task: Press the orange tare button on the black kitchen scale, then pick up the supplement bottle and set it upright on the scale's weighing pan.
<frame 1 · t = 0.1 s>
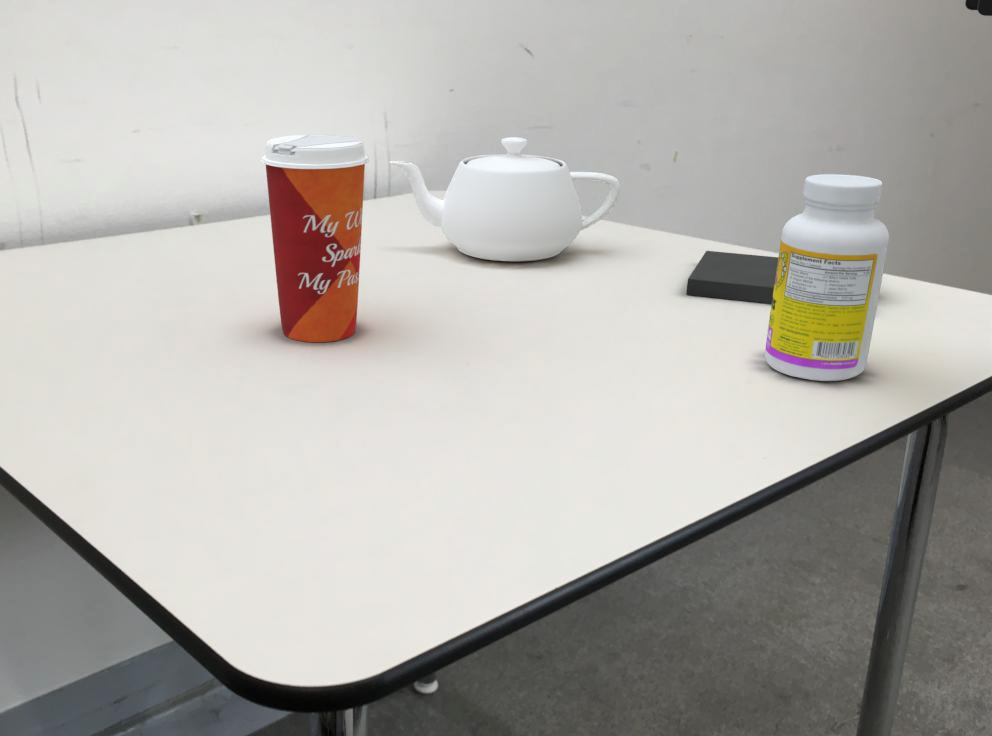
tare button: (846, 254, 92), point 3 cm above the table, slide at 0.1 cm
teapot: (501, 253, 106), on the table
scale: (777, 287, 95), on the table
supplement bottle: (812, 370, 76), on the table
paper cup: (319, 333, 83), on the table
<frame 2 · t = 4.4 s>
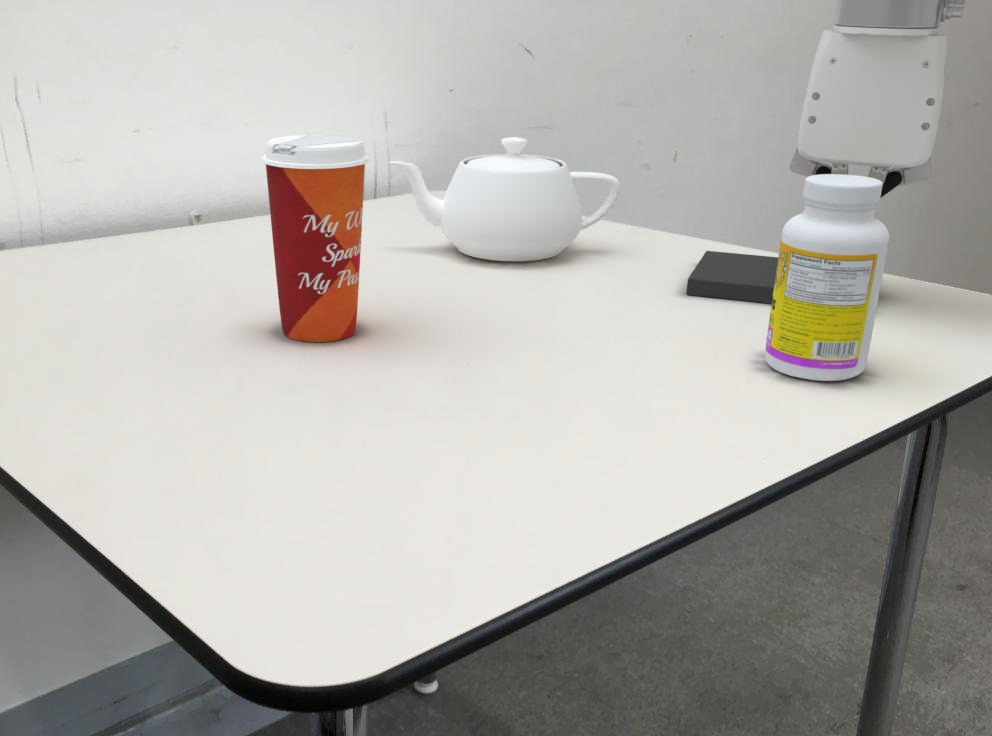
hand: (845, 248, 92), 4 cm above the table, tool pointing down, fingers closed
tare button: (845, 258, 92), point 3 cm above the table, slide at -0.2 cm, touching gripper
everything else where it was.
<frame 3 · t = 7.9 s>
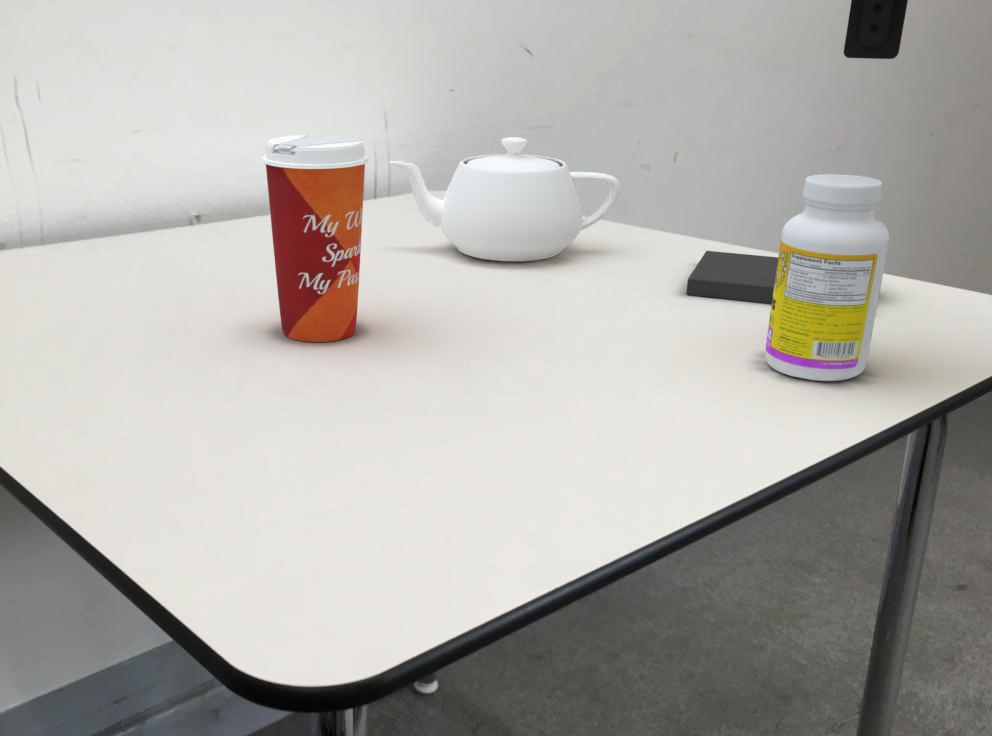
hand: (870, 56, 69), 20 cm above the table, tool pointing down, fingers closed
tare button: (846, 254, 92), point 3 cm above the table, slide at 0.1 cm
everything else where it was.
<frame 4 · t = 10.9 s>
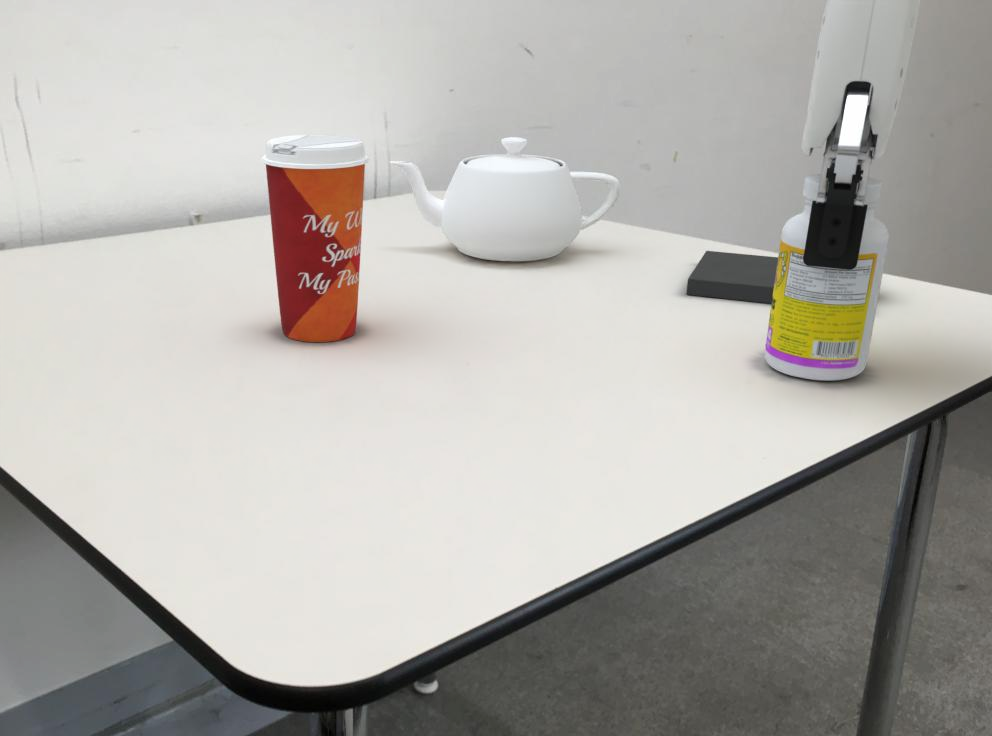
hand: (831, 251, 72), 8 cm above the table, tool pointing down, fingers closed on supplement bottle, 6 cm apart
supplement bottle: (812, 370, 76), on the table, touching gripper
everything else where it was.
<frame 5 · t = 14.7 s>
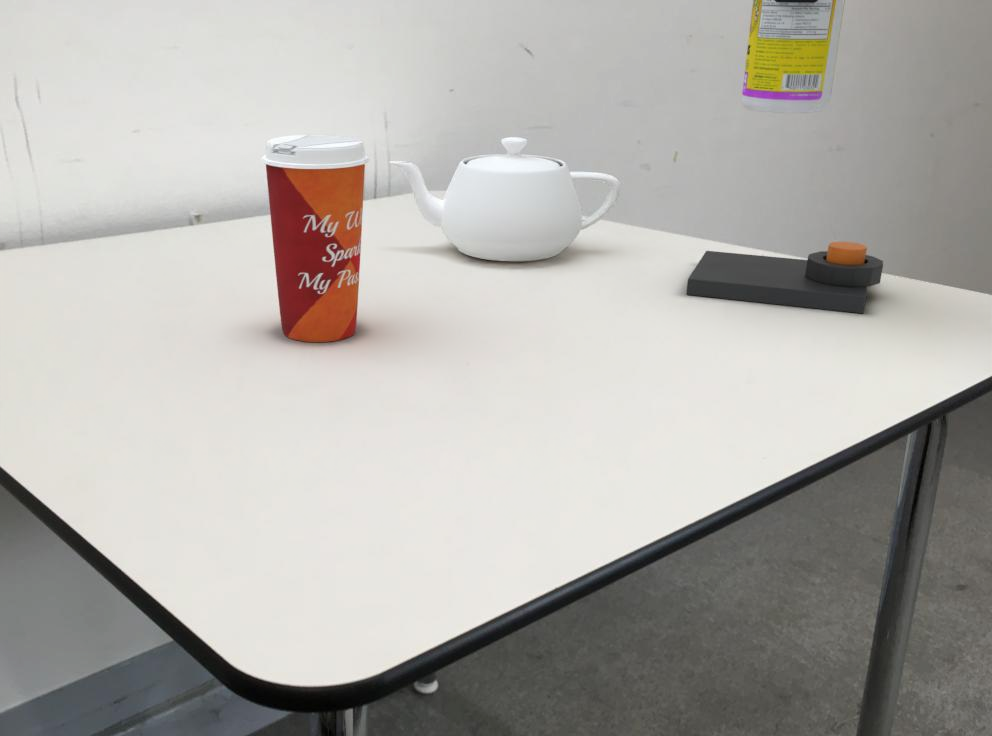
supplement bottle: (783, 112, 87), point 15 cm above the table, touching gripper
everything else where it was.
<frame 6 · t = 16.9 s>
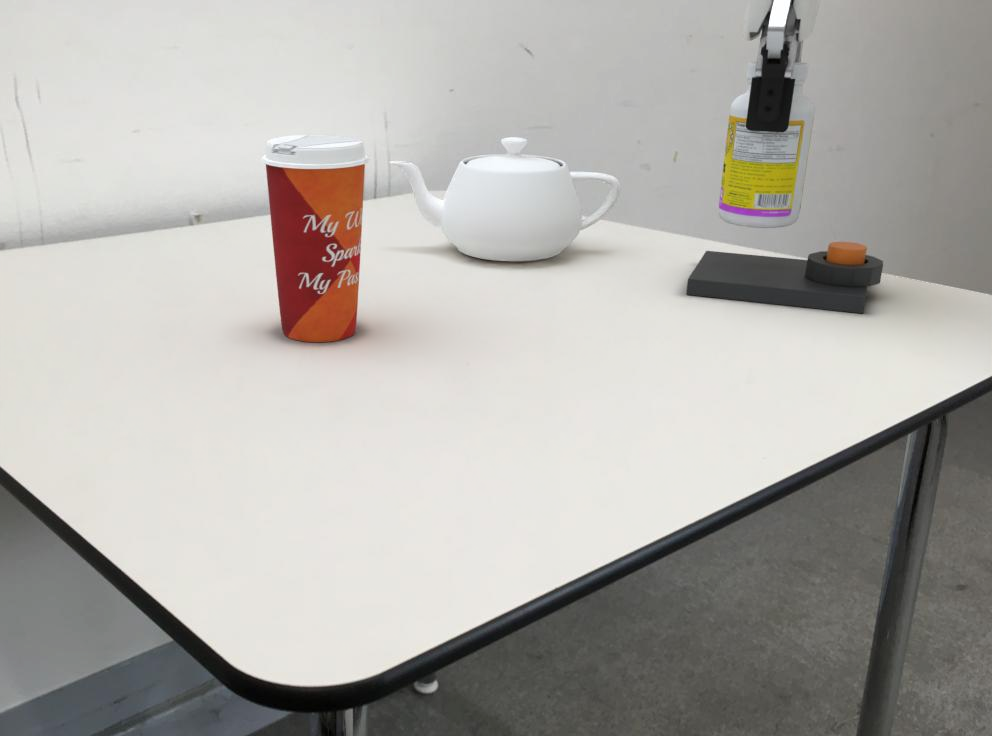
hand: (770, 123, 90), 14 cm above the table, tool pointing down, fingers closed on supplement bottle, 6 cm apart
supplement bottle: (756, 224, 93), point 5 cm above the table, touching gripper
everything else where it was.
when the fingers open (10 cm above the table, at t = 18.4 s): supplement bottle stays where it is, resting on scale.
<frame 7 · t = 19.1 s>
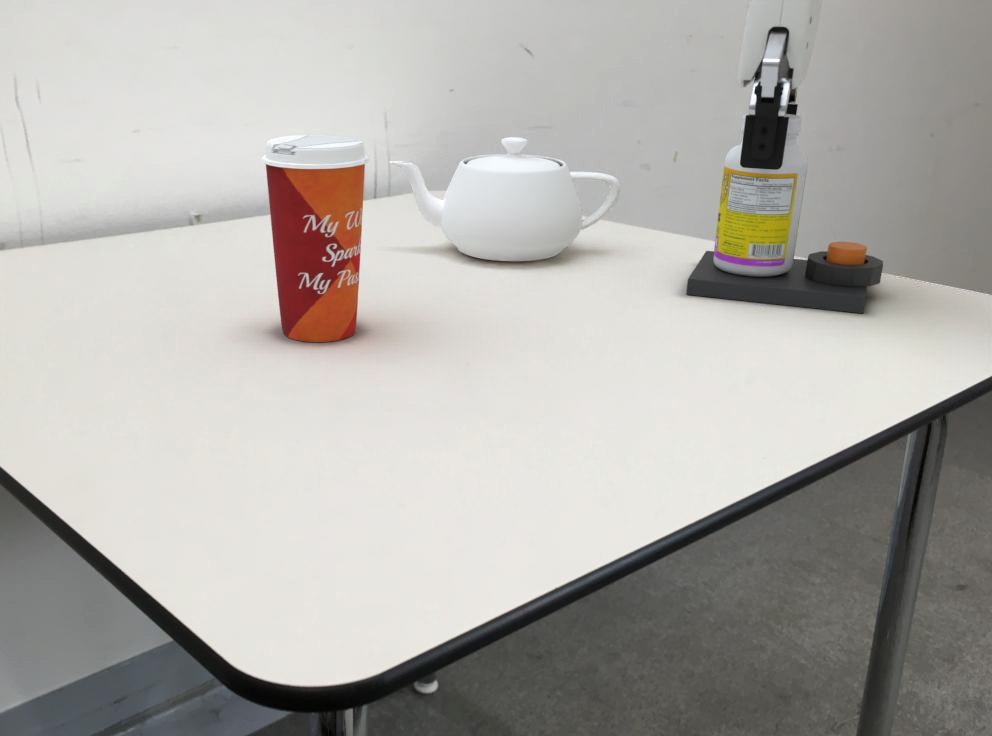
hand: (766, 159, 91), 11 cm above the table, tool pointing down, fingers open, 9 cm apart
supplement bottle: (750, 271, 95), point 1 cm above the table, touching scale
everything else where it was.
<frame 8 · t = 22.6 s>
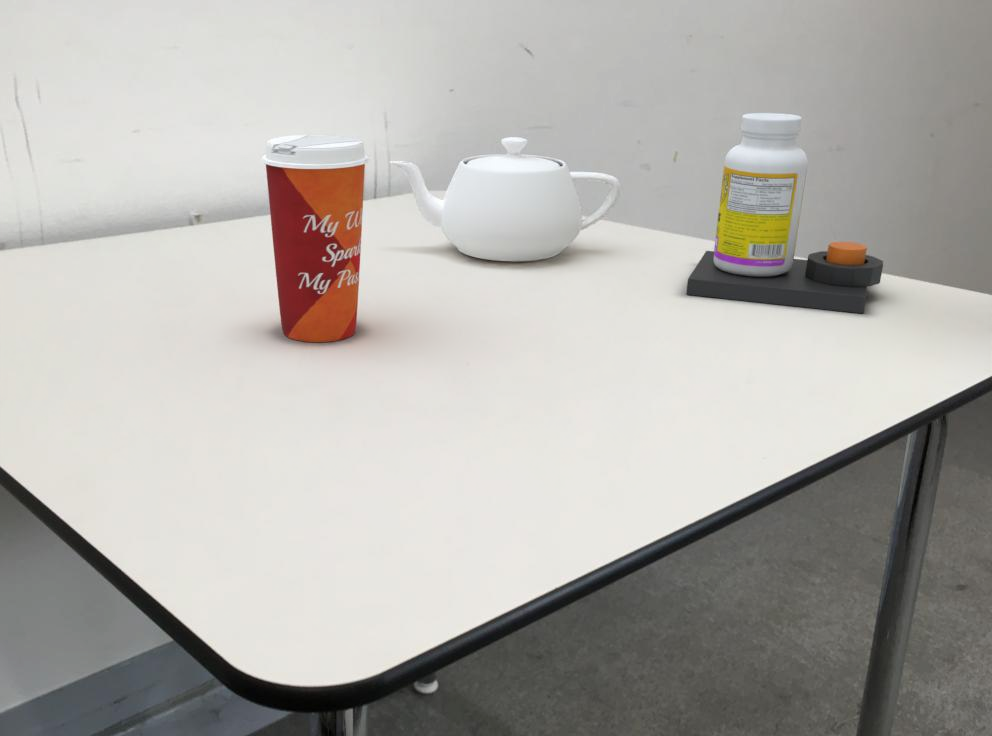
nothing on the table moved.
at the end: tare button pushed in 0.9 cm at the most during the clip, back to where it started at the end; tare button slide at 0.1 cm; supplement bottle inside the target area on the scale (0.1 cm from its centre), point 1.2 cm above the scale's base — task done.
